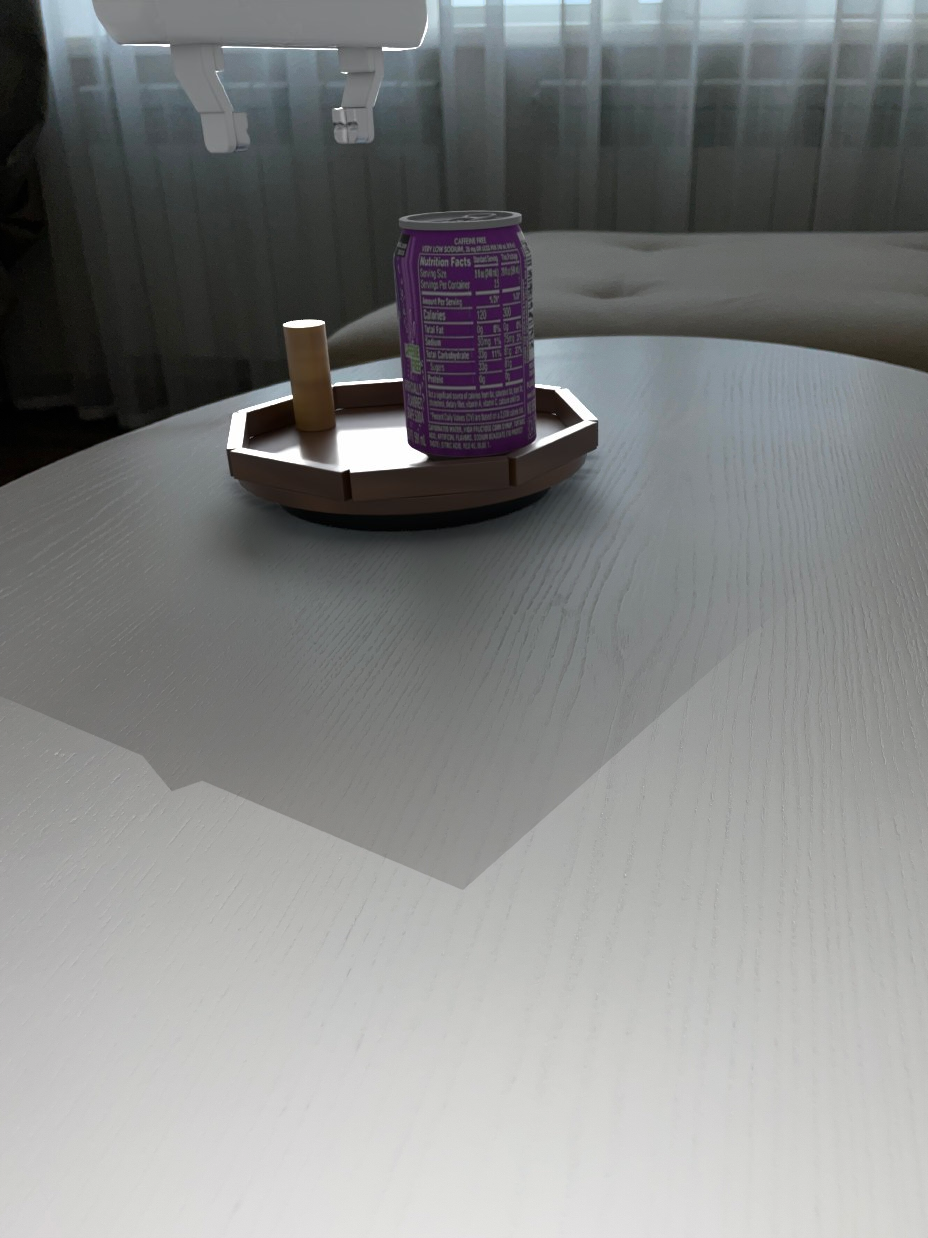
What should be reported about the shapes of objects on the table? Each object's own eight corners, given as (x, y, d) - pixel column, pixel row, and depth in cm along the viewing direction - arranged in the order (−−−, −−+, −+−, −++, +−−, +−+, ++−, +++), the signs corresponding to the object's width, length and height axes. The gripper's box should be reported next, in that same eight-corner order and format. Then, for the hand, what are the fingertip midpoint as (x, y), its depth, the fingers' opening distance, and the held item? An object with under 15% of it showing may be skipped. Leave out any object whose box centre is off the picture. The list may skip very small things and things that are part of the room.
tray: (649, 438, 66) (652, 317, 62) (443, 541, 51) (433, 391, 48) (392, 401, 76) (383, 295, 72) (160, 478, 61) (135, 351, 58)
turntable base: (232, 481, 66) (228, 456, 65) (457, 433, 74) (455, 411, 73) (359, 555, 54) (356, 526, 54) (609, 489, 62) (609, 463, 62)
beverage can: (479, 428, 65) (469, 207, 59) (563, 450, 61) (560, 213, 55) (382, 453, 61) (360, 219, 55) (464, 479, 56) (450, 226, 51)
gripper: (355, -139, 61) (378, 139, 68) (30, -206, 47) (100, 158, 53) (445, -155, 58) (460, 139, 65) (126, -232, 43) (188, 158, 50)
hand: (295, 148), depth 59 cm, fingers open, 8 cm apart
